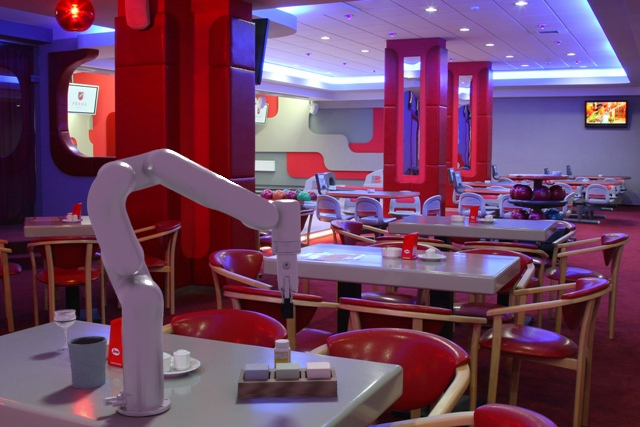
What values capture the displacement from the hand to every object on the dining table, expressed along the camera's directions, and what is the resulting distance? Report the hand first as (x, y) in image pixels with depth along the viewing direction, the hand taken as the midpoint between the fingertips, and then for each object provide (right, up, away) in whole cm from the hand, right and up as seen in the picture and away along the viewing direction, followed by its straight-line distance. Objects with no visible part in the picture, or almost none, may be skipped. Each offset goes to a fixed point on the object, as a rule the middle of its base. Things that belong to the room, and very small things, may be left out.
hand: (287, 317), depth 186 cm
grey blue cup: (-54, -19, +8) cm, 58 cm away
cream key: (+8, -16, +1) cm, 18 cm away
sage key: (0, -16, +1) cm, 16 cm away
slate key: (-8, -16, +1) cm, 18 cm away
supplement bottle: (-2, -18, +20) cm, 27 cm away
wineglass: (-74, -17, +47) cm, 89 cm away
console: (0, -19, +1) cm, 19 cm away
